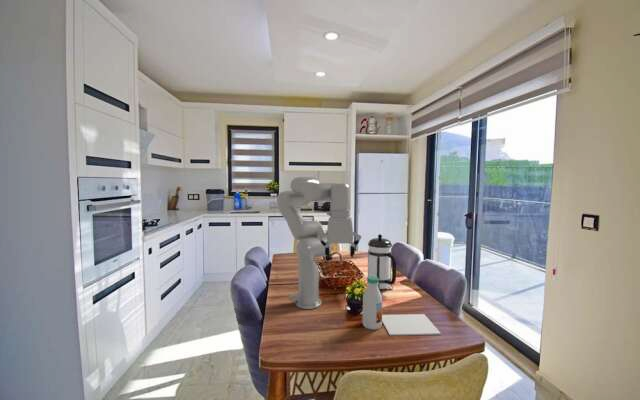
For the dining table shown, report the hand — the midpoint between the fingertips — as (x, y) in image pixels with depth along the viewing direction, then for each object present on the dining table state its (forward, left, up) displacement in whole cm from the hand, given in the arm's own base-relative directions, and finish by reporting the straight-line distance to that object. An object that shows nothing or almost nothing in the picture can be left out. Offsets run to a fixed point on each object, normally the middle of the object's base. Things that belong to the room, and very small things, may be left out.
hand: (339, 256), depth 117 cm
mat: (+28, 0, -29) cm, 40 cm away
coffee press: (+27, +40, -29) cm, 56 cm away
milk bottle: (+13, 0, -29) cm, 32 cm away
